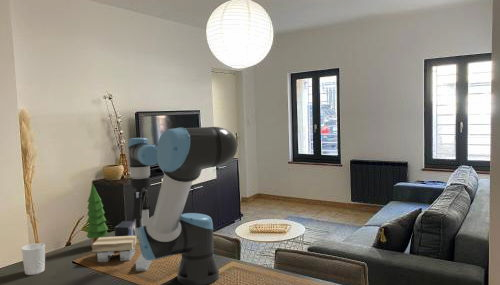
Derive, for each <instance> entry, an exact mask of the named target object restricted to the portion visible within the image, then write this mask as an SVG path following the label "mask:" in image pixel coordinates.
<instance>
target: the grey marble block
mask: <svg viewBox="0 0 500 285" xmlns="http://www.w3.org/2000/svg"><path fill="white" fill-rule="evenodd" d="M152 262H153V260H149V261H148V260H145V259H144V257H143V255H142V253H141V252H140V254H139V256H138V258H137V259H136V260H135V272H147V271H148V270H149V267H150V266H151V264H152Z"/></svg>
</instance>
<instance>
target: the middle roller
mask: <svg viewBox="0 0 500 285" xmlns="http://www.w3.org/2000/svg"><path fill="white" fill-rule="evenodd" d="M96 253H97V254H96V255H97V263H108V262H109V261H110V259H111V258H112V257H113V256H114V255H115V251H103V252H96ZM112 255H113V256H112Z"/></svg>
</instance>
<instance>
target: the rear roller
mask: <svg viewBox="0 0 500 285" xmlns="http://www.w3.org/2000/svg"><path fill="white" fill-rule="evenodd" d="M135 253H136V245H135V246H134V248H133V249H132V250H122V251H119V260H120V262H124V261H125V262H126V261H131V260H132V258H133V257H134V255H135Z"/></svg>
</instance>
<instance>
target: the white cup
mask: <svg viewBox="0 0 500 285" xmlns="http://www.w3.org/2000/svg"><path fill="white" fill-rule="evenodd" d="M21 254H22V262H23V268H24V270H23V271H24V274H25V275H27V276H32V275H38V274H41V273H42V272H44V271H45V270H46V269H45V268H46V244H45V243H42V242H39V243H37V242H36V243H29V244H27V245H24V246H22V247H21Z"/></svg>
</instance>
